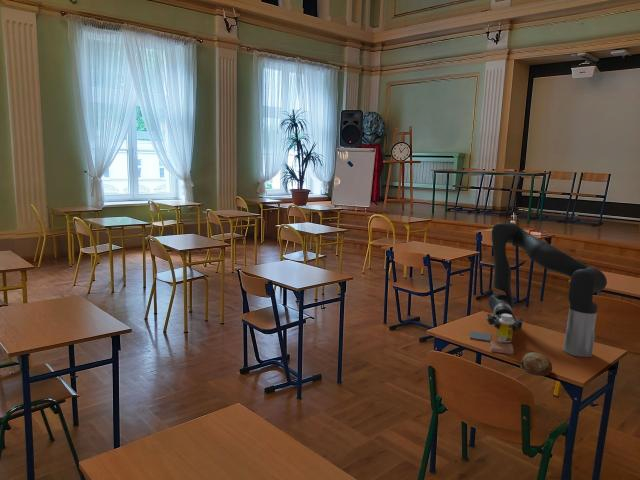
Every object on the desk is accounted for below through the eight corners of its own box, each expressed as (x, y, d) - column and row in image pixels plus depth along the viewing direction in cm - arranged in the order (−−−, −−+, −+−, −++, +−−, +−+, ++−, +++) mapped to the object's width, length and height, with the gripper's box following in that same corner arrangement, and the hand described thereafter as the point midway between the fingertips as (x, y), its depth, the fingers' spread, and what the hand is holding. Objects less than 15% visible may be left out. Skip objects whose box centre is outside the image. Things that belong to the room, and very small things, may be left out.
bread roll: (518, 373, 174) (512, 354, 172) (544, 361, 174) (538, 342, 172) (533, 386, 164) (526, 366, 162) (560, 374, 164) (554, 354, 163)
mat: (490, 335, 200) (490, 333, 200) (490, 342, 192) (491, 340, 192) (470, 332, 202) (470, 330, 202) (470, 338, 195) (470, 337, 195)
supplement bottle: (507, 344, 184) (510, 318, 182) (493, 339, 188) (496, 314, 186) (514, 340, 188) (517, 315, 186) (500, 336, 192) (503, 311, 190)
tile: (512, 344, 187) (513, 350, 180) (511, 348, 187) (513, 355, 181) (490, 341, 189) (491, 347, 183) (489, 345, 189) (490, 351, 183)
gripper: (486, 303, 202) (487, 315, 186) (523, 307, 198) (527, 321, 182) (484, 320, 203) (485, 334, 187) (520, 325, 199) (525, 339, 183)
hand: (506, 327), depth 185 cm, fingers closed on supplement bottle, 5 cm apart
